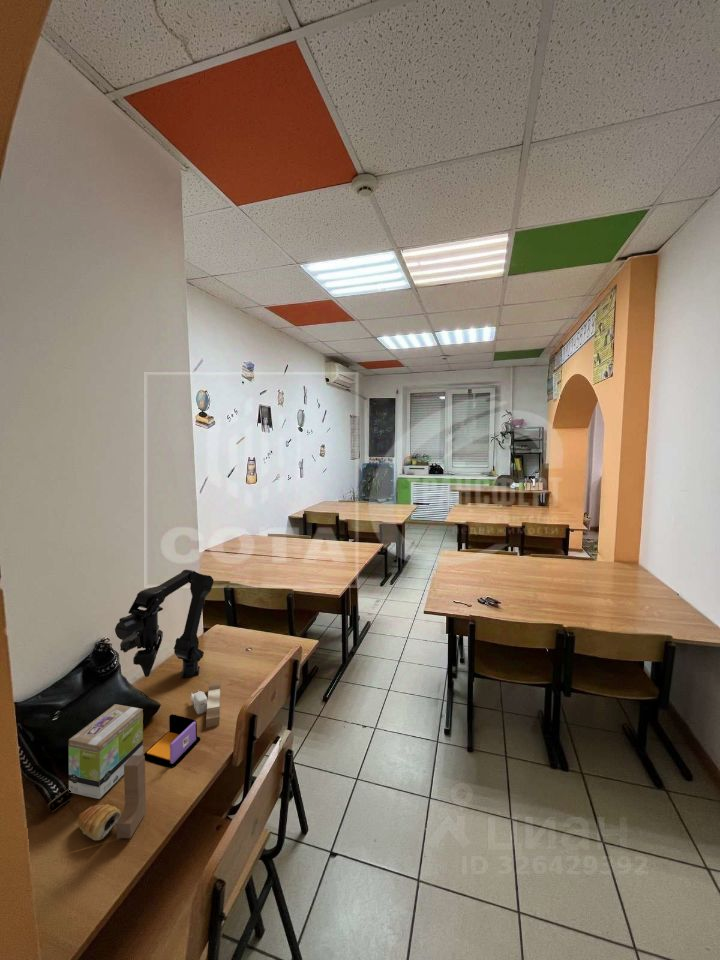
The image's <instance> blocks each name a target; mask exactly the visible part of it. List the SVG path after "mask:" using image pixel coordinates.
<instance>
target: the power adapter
mask: <svg viewBox="0 0 720 960" xmlns="http://www.w3.org/2000/svg"><path fill="white" fill-rule="evenodd" d="M189 698H190V700H191V702H193V708H194V711H195V712H196V714H197V715H202V714H204V713H207V701H208V696H207V695H206V694H205V692H204V691H200V689H196V692H195V693H193V692H192V691H191V692H190V696H189Z"/></svg>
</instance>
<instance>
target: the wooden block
mask: <svg viewBox="0 0 720 960" xmlns="http://www.w3.org/2000/svg"><path fill="white" fill-rule="evenodd" d="M123 779H124V780H123V782H124V787H123V788H124V807H123V810H122V812H121V817H120V819H119V820H118V822H117V823H116V824H115V825H116V827H115V829H116V838H117V839H131V837H132V836H133V835H134V833H135V832H136V829H137V828H138V826H139V825H140V823H141V821H142V819H143V818H144V816H145V815H146V812H147V801H146V800H147V799H146V798H147V797H146V796H147V795H146V760H145V756H144V755H132V756H131V757H130V758H129V760H128V761H127V762H126V764H125V765H124V775H123Z"/></svg>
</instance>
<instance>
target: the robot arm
mask: <svg viewBox="0 0 720 960" xmlns="http://www.w3.org/2000/svg"><path fill="white" fill-rule="evenodd" d="M187 584H190V585H189V590H190V594H191V601H190V604H189V609H188V611H187V612H188V613H187V617H186V621H185V625H184V629H183V632H182V633H183V634H181V636H180V637H177V638H176V639H175V644H174V647H173V650H174V656H176V657H177V659H178V660H181V661H182V670H181V675H180V679H186V678H193V677H198V676H200V668H201V666H200V665H199V662H200V661H201V659H203V658H204V651H203V650H202V649H200V648H199V644H200V641H199V637H198V631H199V627H200V626H199V625H200V621H201V616H202V612H203V609H204V603H205V600H206V597H207V596H208V595H209V594H210V592H211V590H212V588H213V584H214V578H213V576H211V575H209V574H203V573H199V572H197V571H195V570H191V569H183V570H182V571H181V572H180V573H178V574H177V575H174V576H173V577H172V578H169V579H168V580H165V582H163V583H161V584H159V585H157V586H153V587H148V588H146V589H142V590H140V591H139V592H138V593H137V594H136V597H135V599H134V601H133V602H132V604H131V606H130V608H129V610H128V614H129V615H126V616H123V617H121V618H119V621H118V622H117V623H116V626H115V628H114V632H115V635H116V636H117V638H118V639H119V640H121V642H120V643H119V645H120V649H119V650H120V651H121V652H123V653H127V652H128V651H130V650H133V649H135V648H136V649H140V650H137V651H136V653H135V654H134V656H133V658H132V660H133V661H132V662H133V665H138V666H140V667H141V669H142V672H143V675H144V677H145V678H147V677H150V674H151V672H152V669H153V667H154V664H155V661H156V659H157V654H158V652H159V648H161V647H160V646H161V644H162V641H163V638H164V631H162V630H161V629H160V625H159V619H158V617H159V615H158V613H159V612H161V611H163V610H164V608H163V607H162V606H160V605H162V604H163V603H164V602H165V599H166V598H167V597H168V596H169V595H171V594H173V593H174V592H176V591H178V590H179V589H181V588H182V587H184V586H185V585H187ZM140 608H142V609H140Z"/></svg>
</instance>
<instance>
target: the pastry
mask: <svg viewBox="0 0 720 960" xmlns="http://www.w3.org/2000/svg"><path fill="white" fill-rule="evenodd" d="M121 815H122V811H121V809H119V808H117V807H116V806H115V805H111V804H109V803H106V804H95V805H91V806H89V807H88V808H86V809H84V811H83V812H80V813H79V814H78V818H77V822H76V824H77V825H78V827H79V829H80V830H81V831H82V834H83V835H86V837H88V838H90V839H92V840H93V841H101V840H102V839H104V838H105V837H106V836H107V835H108V834H109V832H110V831H112V828H113V827H115V825H116V823H117V822H118V820H119V819H120V817H121Z"/></svg>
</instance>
